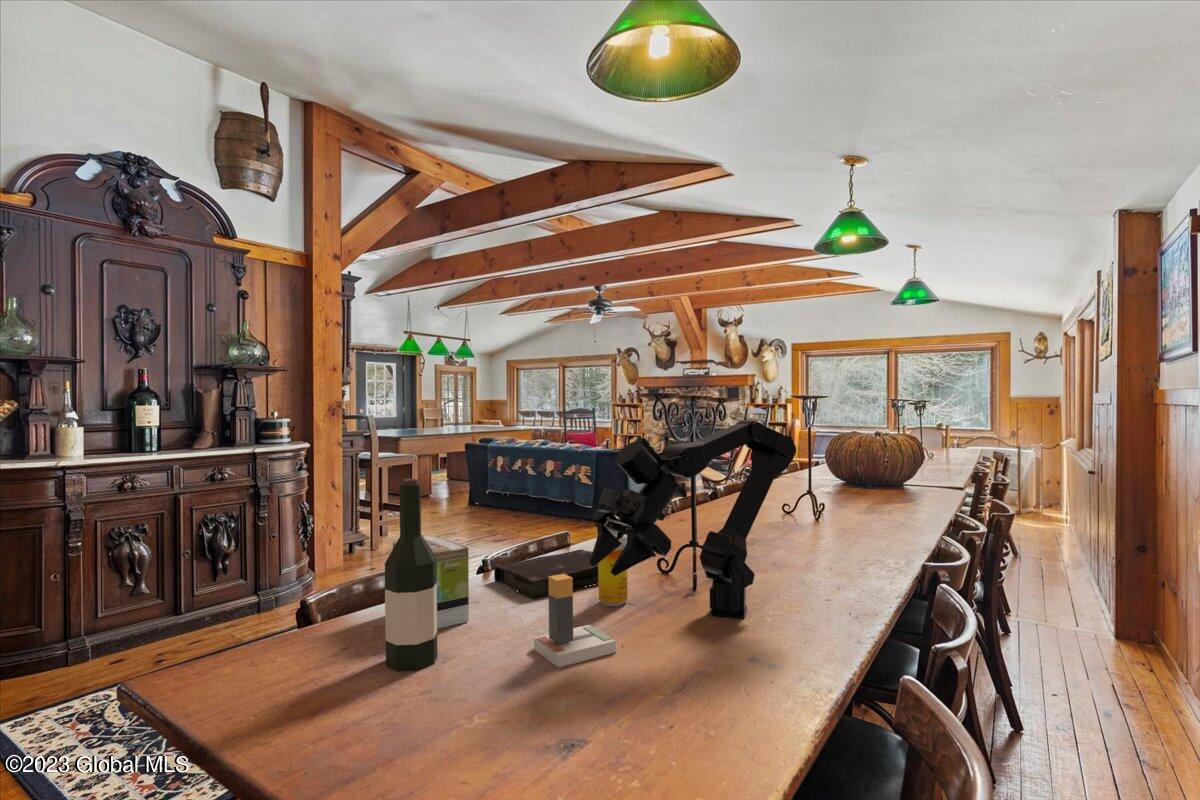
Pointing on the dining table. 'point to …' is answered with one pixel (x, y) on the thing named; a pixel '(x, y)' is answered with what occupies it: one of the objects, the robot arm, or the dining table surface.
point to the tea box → (450, 581)
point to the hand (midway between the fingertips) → (601, 569)
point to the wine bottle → (410, 590)
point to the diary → (547, 572)
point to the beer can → (613, 579)
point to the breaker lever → (560, 608)
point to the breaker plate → (576, 646)
